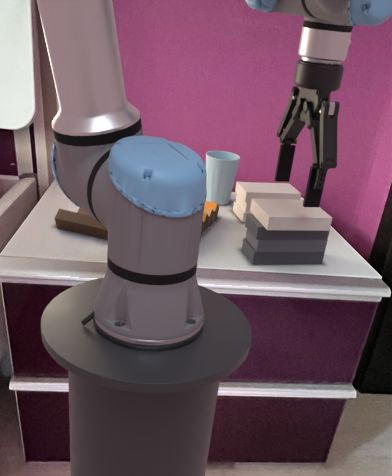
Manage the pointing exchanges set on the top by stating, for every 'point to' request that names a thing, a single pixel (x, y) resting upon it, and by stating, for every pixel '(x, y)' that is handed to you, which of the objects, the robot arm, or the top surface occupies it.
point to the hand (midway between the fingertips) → (295, 193)
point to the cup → (220, 175)
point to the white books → (260, 195)
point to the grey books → (282, 244)
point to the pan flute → (92, 227)
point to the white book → (289, 215)
